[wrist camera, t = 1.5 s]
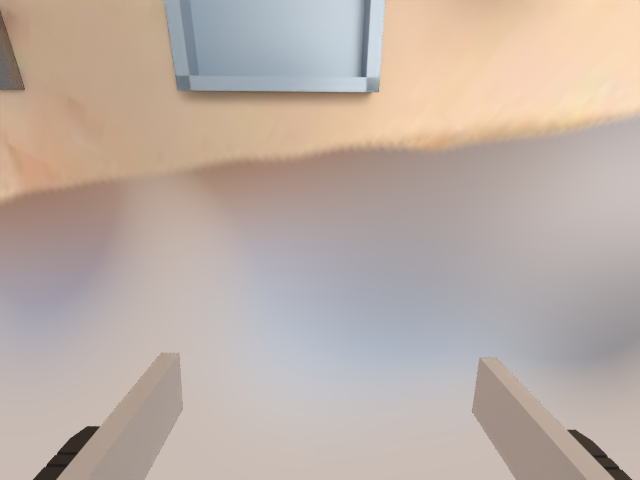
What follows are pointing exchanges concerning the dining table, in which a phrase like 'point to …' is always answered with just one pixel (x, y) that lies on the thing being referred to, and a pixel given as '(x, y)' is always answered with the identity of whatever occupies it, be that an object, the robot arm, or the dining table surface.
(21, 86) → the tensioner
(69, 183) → the dining table surface
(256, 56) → the tray
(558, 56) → the dining table surface
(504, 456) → the robot arm
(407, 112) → the dining table surface
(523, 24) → the dining table surface
